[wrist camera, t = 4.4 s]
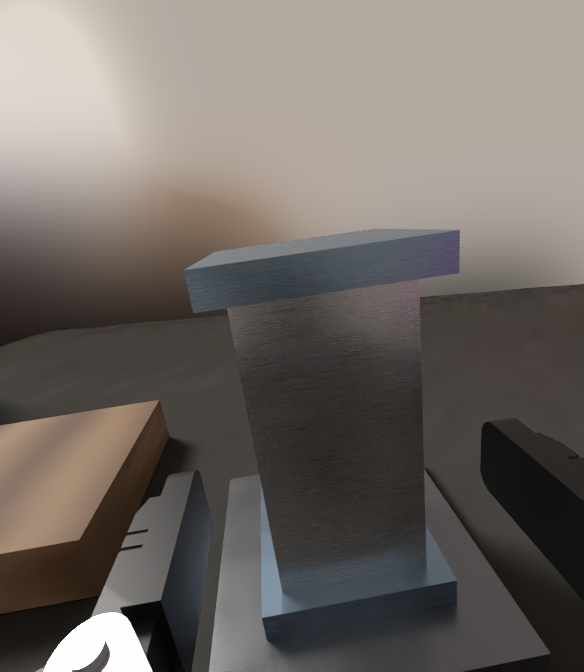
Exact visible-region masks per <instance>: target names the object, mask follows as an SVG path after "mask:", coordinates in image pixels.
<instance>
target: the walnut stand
mask: <svg viewBox="0 0 584 672" xmlns="http://www.w3.org/2000/svg"><path fill="white" fill-rule="evenodd" d="M168 438H169V433H168V429H167V425H166V422H165V418H164V415H163V411H162V407H161V404H160V400H155V401H149V402H143V403H137V404H131V405H124V406H118V407H112V408H106V409H100V410H94V411H87V412H81V413H75V414H69V415H63V416H56V417H50V418H44V419H38V420H32V421H25V422H19V423H13V424H7V425H1V426H0V614H4V613H9V612H14V611H20V610H25V609H31V608H36V607H41V606H47V605H52V604H58V603H63V602H68V601H74V600H79V599H85V598H90V597H95V596H100V595H101V593H102V591H103V588H104V586H105V584H106V581H107V579H108V577H109V574H110V572H111V570H112V567H113V565H114V563H115V560H116V558H117V556H118V553H119V552H120V551H121V546H122V544H123V542H124V539H125V537H126V536H127V534H128V533H127V532H128V530H129V528H130V525H131V523H132V521H133V518H134V516H135V514H136V513H137V511H138V509H139V506H140V504H141V501H142V499H143V497H144V494H145V492H146V490H147V487H148V485H149V483H150V480H151V478H152V476H153V473H154V471H155V469H156V466H157V464H158V462H159V459H160V457H161V455H162V452H163V450H164V448H165V445H166V443H167V441H168Z"/></svg>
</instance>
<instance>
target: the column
mask: <svg viewBox="0 0 584 672" xmlns="http://www.w3.org/2000/svg"><path fill="white" fill-rule="evenodd" d="M459 236H460V232H459V230H418V229H417V230H415V229H371V230H363V231H356V232H350V233H343V234H336V235H329V236H322V237H315V238H309V239H301V240H294V241H287V242H280V243H273V244H266V245H260V246H252V247H246V248H239V249H231V250H224V251H217V252H215V253H213V254H211V255H209V256H208V257H206V258H204V259H202V260H201V261H199V262H197V263H195V264H194V265H192V266H190V267H188V268H187V269H185V270H184V273H185V278H186V282H187V287H188V291H189V296H190V300H191V305H192V309H193V313H198V312H204V311H211V310H217V309H224V308H227V310H228V315H229V321H230V326H231V331H232V336H233V341H234V346H235V352H236V357H237V362H238V367H239V372H240V377H241V382H242V388H243V393H244V398H245V403H246V408H247V413H248V419H249V424H250V429H251V434H252V439H253V444H254V449H255V455H256V460H257V465H258V470H259V475H260V480H261V589H262V621H263V626H264V630H265V635H266V639H267V640H268V639H274V638H279V637H284V636H289V635H294V634H299V633H304V632H310V631H315V630H320V629H325V628H330V627H335V626H340V625H345V624H351V623H356V622H361V621H366V620H371V619H376V618H381V617H386V616H392V615H397V614H402V613H407V612H412V611H417V610H422V609H427V608H433V607H438V606H443V605H448V604H453V603H457V579H456V577H455V576H454V574H453V572H452V570H451V569H450V567H449V565H448V563H447V561H446V560H445V558H444V556H443V554H442V553H441V551H440V549H439V547H438V545H437V544H436V542H435V540H434V538H433V537H432V535H431V533H430V531H429V529H428V528H427V526H426V523H425V487H424V451H423V414H422V378H421V342H420V306H419V279H423V278H428V277H436V276H443V275H449V274H456V273H459V239H460V237H459Z"/></svg>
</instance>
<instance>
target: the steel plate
mask: <svg viewBox="0 0 584 672" xmlns="http://www.w3.org/2000/svg"><path fill="white" fill-rule="evenodd" d="M424 487H425V523H426V526H427V528H428V529H429V531H430V533H431V535H432V537H433V538H434V540H435V542H436V544H437V545H438V547H439V549H440V551H441V553H442V554H443V556H444V558H445V560H446V561H447V563H448V565H449V567H450V569H451V570H452V572H453V574H454V576H455V577H456V579H457V603H453V604H448V605H443V606H438V607H433V608H427V609H422V610H417V611H412V612H407V613H402V614H397V615H392V616H386V617H381V618H376V619H371V620H366V621H361V622H356V623H351V624H345V625H340V626H335V627H330V628H325V629H320V630H315V631H310V632H304V633H299V634H294V635H289V636H284V637H279V638H274V639H268V640H267V639H266V635H265V630H264V626H263V621H262V589H261V480H260V475H254V476H248V477H243V478H237V479H231V480H230V487H229V496H228V505H227V514H226V523H225V532H224V541H223V550H222V559H221V568H220V577H219V586H218V595H217V604H216V613H215V622H214V631H213V640H212V649H211V658H210V667H209V672H549V665H550V656H551V653H550V652H549V650H548V649H547V647H546V646H545V644H544V643H543V641H542V640H541V639H540V637H539V636H538V634H537V633H536V631H535V630H534V628H533V627H532V625H531V624H530V623H529V621H528V620H527V618H526V617H525V615H524V614H523V612H522V611H521V609H520V608H519V606H518V605H517V604H516V602H515V601H514V599H513V598H512V596H511V595H510V593H509V592H508V590H507V589H506V588H505V586H504V585H503V583H502V582H501V580H500V579H499V577H498V576H497V574H496V573H495V572H494V570H493V569H492V567H491V566H490V564H489V563H488V561H487V560H486V558H485V557H484V555H483V554H482V553H481V551H480V550H479V548H478V547H477V545H476V544H475V542H474V541H473V539H472V538H471V537H470V535H469V534H468V532H467V531H466V529H465V528H464V526H463V525H462V523H461V522H460V520H459V519H458V518H457V516H456V515H455V513H454V512H453V510H452V509H451V507H450V506H449V504H448V503H447V502H446V500H445V499H444V497H443V496H442V494H441V493H440V491H439V490H438V488H437V487H436V486H435V484H434V483H433V481H432V480H431V478H430V477H429V475H428V474H427V472H426V471H425V469H424Z"/></svg>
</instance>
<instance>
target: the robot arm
mask: <svg viewBox="0 0 584 672" xmlns="http://www.w3.org/2000/svg"><path fill="white" fill-rule="evenodd" d="M480 469H481V475H482V479H483V481H484V484H485V486H486V487H487V489H488V491H489V492H490V493H491V494H492V495H493V497H494V498H495V499H496V500H497V501H498V502H499V503H500V505H501V506H502V507H503V508H504V509H505V510H506V512H507V513H508V514H509V515H510V516H511V517H512V518H513V520H514V521H515V522H516V523H517V524H518V525H519V527H520V528H521V529H522V530H523V531H524V532H525V534H526V535H527V536H528V537H529V538H530V539H531V540H532V542H533V543H534V544H535V545H536V546H537V547H538V549H539V550H540V551H541V552H542V553H543V554H544V555H545V557H546V558H547V559H548V560H549V561H550V562H551V564H552V565H553V566H554V567H555V568H556V569H557V570H558V572H559V573H560V574H561V575H562V576H563V577H564V579H565V580H566V581H567V582H568V583H569V584H570V585H571V587H572V588H573V589H574V590H575V591H576V592H577V594H578V595H579V596H580V597H581V598H582V599H583V600H584V459H583V458H580V457H579V455H578V454H576V453H575V452H574V451H572V450H571V449H569V448H568V447H567V446H565V445H564V444H562V443H561V442H559V441H556V440H554V439H552V438H549V437H547V436H545V435H543V434H540V433H534V432H533V431H532V430H530V429H529V428H528V427H526V426H525V425H524V424H522V423H521V422H520V421H518V420H517V419H515V418H508V419H502V420H496V421H490V422H485V423H484V424H483V426H482V435H481V465H480ZM127 533H128V535H127V536H126V537H125V539H124V542H123V544H122V546H121V552H119V553H118V556H117V558H116V560H115V563H114V565H113V567H112V570H111V572H110V574H109V577H108V579H107V581H106V584H105V586H104V588H103V591H102V593H101V595H100V597H99V600H98V602H97V604H96V607H95V609H94V611H93V614H92V616H91V618H90V619H89V620H88V621H86V622H84V623H83V624H81V625H80V626H78V627H77V628H76V629H75V630H73V631H72V632H71V633H70V634H69V635H68V636H67V637H66V638H65V639H64V640H63V641H62V642H61V643H60V645H59V646H58V647H57V649H56V650H55V651H54V653H53V654H52V656H51V658H50V659H49V661H48V663H47V665H46V666H45V667H43V668H41V669H39V670H37V671H36V672H191V670H192V664H193V657H194V650H195V644H196V637H197V631H198V624H199V618H200V611H201V605H202V598H203V592H204V585H205V578H206V572H207V565H208V559H209V552H210V546H211V539H212V523H211V515H210V511H209V507H208V503H207V499H206V495H205V491H204V487H203V483H202V479H201V475H200V473H199V471H198V470H193V471H187V472H181V473H175V474H170V475H169V476H168V477H167V480H166V483H165V485H164V488H163V491H162V493H161V496H157V497H151V498H149V499H148V500H147V502H146V503H145V504H144V505H143V506H142V507H141V508H140V510H139V511H138V512H137V513H136V514H135V516H134V518H133V521H132V523H131V525H130V528H129V530H128V532H127Z"/></svg>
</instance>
